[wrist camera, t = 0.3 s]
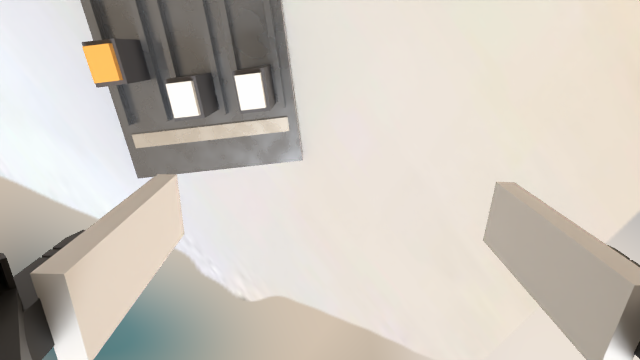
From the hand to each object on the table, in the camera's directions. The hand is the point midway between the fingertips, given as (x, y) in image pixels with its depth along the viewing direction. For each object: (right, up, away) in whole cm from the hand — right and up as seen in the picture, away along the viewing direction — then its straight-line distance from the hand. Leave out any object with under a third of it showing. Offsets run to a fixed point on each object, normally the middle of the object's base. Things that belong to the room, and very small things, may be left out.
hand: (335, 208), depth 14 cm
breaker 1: (-21, +14, +22) cm, 33 cm away
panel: (-14, +15, +23) cm, 31 cm away
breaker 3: (-7, +11, +23) cm, 27 cm away
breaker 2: (-14, +11, +23) cm, 29 cm away
